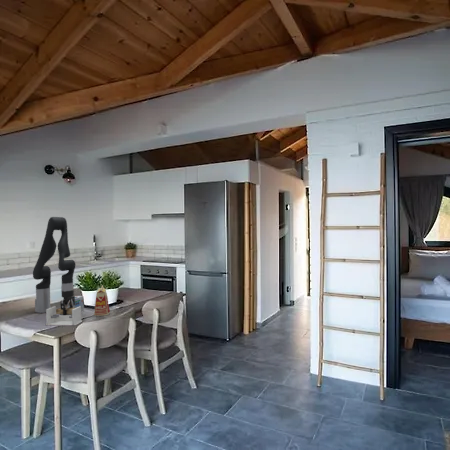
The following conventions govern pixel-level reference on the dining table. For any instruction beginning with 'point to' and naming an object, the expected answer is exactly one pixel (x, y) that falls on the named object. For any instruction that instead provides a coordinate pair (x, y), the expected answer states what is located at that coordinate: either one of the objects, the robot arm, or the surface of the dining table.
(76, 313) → the peg frame
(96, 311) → the milk carton
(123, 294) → the dining table surface
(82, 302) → the light bulb box
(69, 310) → the shelf board
